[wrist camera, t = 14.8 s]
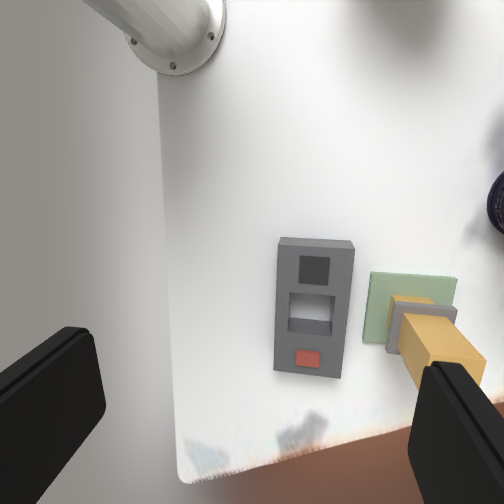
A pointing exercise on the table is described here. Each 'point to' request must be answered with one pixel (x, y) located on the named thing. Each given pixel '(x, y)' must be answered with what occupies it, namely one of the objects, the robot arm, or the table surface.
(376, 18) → the table surface
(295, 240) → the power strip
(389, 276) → the mat
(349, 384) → the table surface
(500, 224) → the storage jar
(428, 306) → the plug
